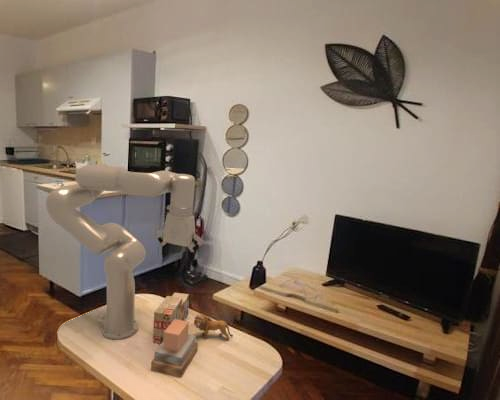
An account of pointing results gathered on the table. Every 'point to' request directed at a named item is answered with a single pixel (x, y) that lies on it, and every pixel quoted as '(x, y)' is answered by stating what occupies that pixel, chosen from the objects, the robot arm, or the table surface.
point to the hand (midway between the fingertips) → (177, 258)
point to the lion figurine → (211, 326)
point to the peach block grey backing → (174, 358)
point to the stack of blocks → (169, 314)
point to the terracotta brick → (175, 335)
